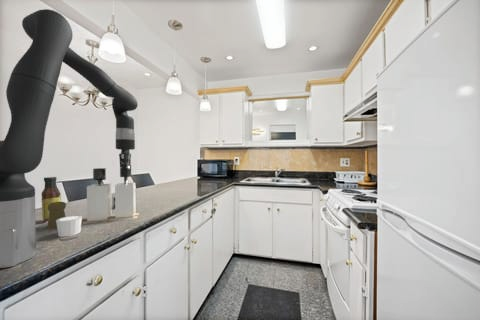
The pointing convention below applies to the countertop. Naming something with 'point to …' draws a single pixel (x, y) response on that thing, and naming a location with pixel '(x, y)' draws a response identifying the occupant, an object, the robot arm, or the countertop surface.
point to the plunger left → (99, 175)
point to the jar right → (125, 200)
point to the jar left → (98, 202)
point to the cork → (55, 213)
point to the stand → (112, 219)
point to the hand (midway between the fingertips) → (125, 175)
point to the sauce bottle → (49, 196)
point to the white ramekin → (69, 226)
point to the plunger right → (127, 176)
